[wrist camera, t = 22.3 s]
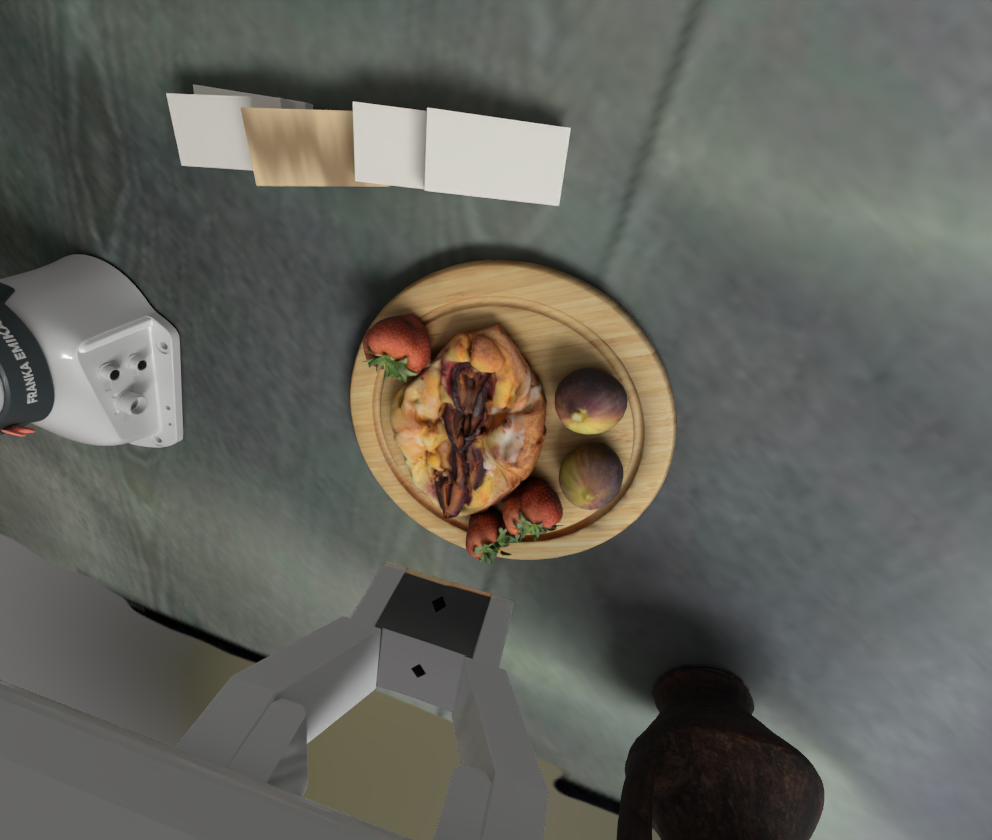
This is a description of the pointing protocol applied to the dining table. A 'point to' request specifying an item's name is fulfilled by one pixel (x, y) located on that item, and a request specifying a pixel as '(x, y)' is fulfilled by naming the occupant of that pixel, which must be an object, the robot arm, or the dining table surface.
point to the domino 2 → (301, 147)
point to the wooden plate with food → (513, 410)
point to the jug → (715, 769)
